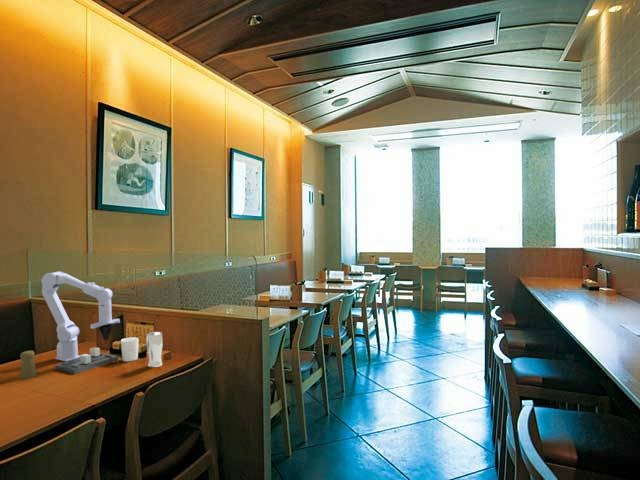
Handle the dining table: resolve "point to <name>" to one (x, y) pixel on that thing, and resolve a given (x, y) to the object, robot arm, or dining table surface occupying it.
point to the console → (77, 366)
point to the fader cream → (94, 351)
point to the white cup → (129, 348)
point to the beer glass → (154, 348)
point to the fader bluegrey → (85, 358)
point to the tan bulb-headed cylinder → (27, 365)
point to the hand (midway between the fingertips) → (106, 339)
